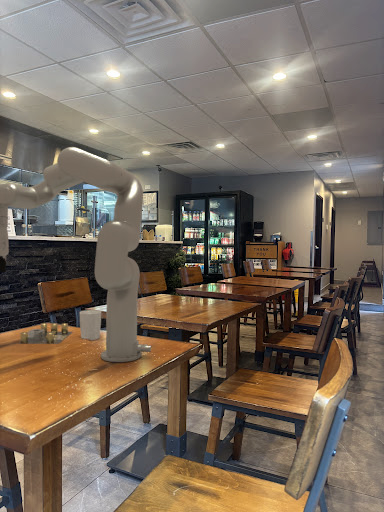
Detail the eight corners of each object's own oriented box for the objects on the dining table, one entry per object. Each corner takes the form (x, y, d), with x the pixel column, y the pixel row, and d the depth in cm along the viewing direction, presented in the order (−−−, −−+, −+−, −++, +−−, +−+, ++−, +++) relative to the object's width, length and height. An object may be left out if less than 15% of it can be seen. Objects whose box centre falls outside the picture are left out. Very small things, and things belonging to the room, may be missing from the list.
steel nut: (46, 335, 140) (46, 328, 140) (40, 339, 134) (40, 332, 134) (32, 335, 140) (32, 328, 140) (26, 339, 134) (26, 332, 134)
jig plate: (73, 333, 147) (73, 323, 146) (59, 345, 129) (59, 333, 128) (37, 333, 146) (37, 322, 146) (18, 345, 128) (18, 333, 128)
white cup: (98, 341, 135) (98, 314, 135) (76, 340, 135) (76, 313, 135) (103, 336, 143) (103, 310, 143) (83, 335, 143) (83, 309, 143)
